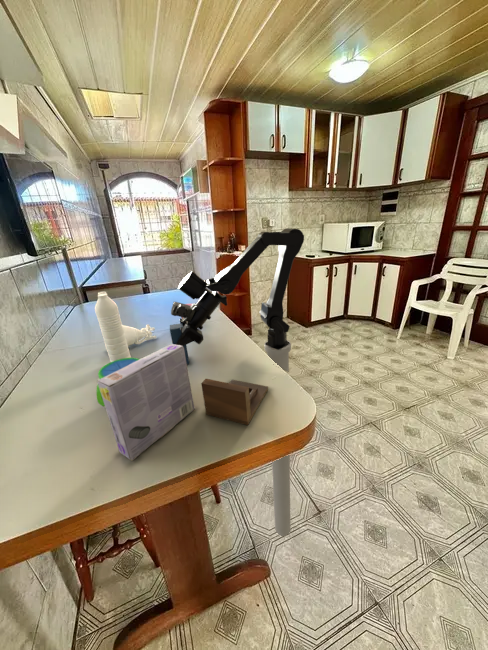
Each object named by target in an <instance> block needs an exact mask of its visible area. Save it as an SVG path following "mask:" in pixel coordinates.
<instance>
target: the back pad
mask: <svg viewBox="0 0 488 650" xmlns="http://www.w3.org/2000/svg"><path fill="white" fill-rule="evenodd" d="M181 327H182V328H183V323H180V322H179V323H174V324H170V325H169V332H170V337H171V344H176V342H177V341H178V339H179V337H180V335H181ZM183 347H184V351H185V357H186V363H187V365H190V359H189V353H188V352H189V351H188V346H187V344H186V345H184V346H183Z"/></svg>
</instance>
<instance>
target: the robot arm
mask: <svg viewBox="0 0 488 650" xmlns="http://www.w3.org/2000/svg"><path fill="white" fill-rule="evenodd" d="M304 241H305V235H304V232H303V231H302V230H300V229H298V228H289V227H288V228H287V227H286V228H284V229H282V230H281V231H261V232H259V233H258V235H257V236H256V237H255V238H254V239H253V241H252V242H251V243H250V244H249V245H248V246H247V247H246V248H245V249H244V250H243V252H241V254H240V255H238V257H237V258H236V259H235V261H234V262H233V263H232V264H230V265H228V266H227V267H225V268H223V269H222V270H220V272H218V273H217V274H216V275H215V276H214V277H211V278H207V279H203V278H202V277H200V276H199V275H198V274H197V273H196V272H195V271H193V270H190V272H189V273H188V274H187V275H186V276H185V277H183V278H182V280H181V281H180V283H179V284H178V287H177V290H179V291H181V292H182V293H183V294H184V295H186V296H188V297H189V298H190V299H192V300H198V301H197V302H195V303H192V304H193V305H192V306H189V305H186V304H187V303H182V302H178V301H173V303H172V306H171V309H170V315H171V316H173V317H180V318H179V324H180V323H183V328H182V327H181V335H180V337H179V339H178V341H177V342H176V344H175V345H181V346H184V345H186V346H187V345H188V344H189V345H190V344H191V343H193V342H194V343H196V344H197V345H200V344H201V343H202V342H203V341H204V334H203V331H202V330H203V328H204V326H203V325H204V324H205V323H206V322H207V321H208V320H209V321H210V320H211V319H212V314H213V313H214V312H215V311H216V310H217V308H218V306H219V305H220V304H222V305H224V306H228V300H227V299H228V297H227V295H230V294H231V293H233V292H234V291H235V289H236V287H237V286H238V284H239V282H240V280H241V279H242V276H243V274H244V273H245V272H246V271H247V270H248V269H249V268H250V267H251V265H253V263H254V262H255V261H256V260H257V259H258V258H259V257H260V256H261V255H262V254H263V253H264V252H265V250H267V248H268V247H269V246H277V248H278V260H277V264H276V269H275V272H274V277H273V280H272V285H271V288H270V293H269V296H268V299H267V301H265V302H263V301H262V302H261V306H260V307H261V308H260V310H259V314H260V320H261V321H262V322H263V323H264V324H265V325H266V326H267V327H268V329H267V341H268V342H266V341H265V342H266V343H265V342H264V344H265V345H268V346H270V347H272V348H275V349H277V350H279V349H281V348H283V347H285V346H287V345H289V344H290V343H291V341H290V342H288V341H289V340H288V339H287V336H288V335H287V333H288V332H289V330H290V325H289V324H288V323H287V322H286V321H285V320H284V304H283V301H284V298H285V294H286V290H287V286H288V283H289V278H290V275H291V271H292V267H293V263H294V260H295V258H296V257H297V256H298V255H299V253H300V251H301V249H302V247H303V244H304ZM181 317H183V319H182V318H181ZM287 340H288V341H287ZM265 345H264V346H265Z"/></svg>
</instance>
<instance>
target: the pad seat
mask: <svg viewBox="0 0 488 650" xmlns="http://www.w3.org/2000/svg"><path fill="white" fill-rule="evenodd" d="M200 384H201V391H202V397H203V404H204V410H205V414H206V415H207V416H211V417H215V418H218V419H222V420H225V421H230V422H234V423H237V424H240V425H245V426H249V425H250V423H251V421H252V419H253V417H254V416H255V414H256V412H257V410H258V408H259V407H260V405H261V403H262V401H263V400H264V398H265V396H266V395H267V393H268V391H269V386H267V385H262V384H257V383H251V382H247V381H242V380H237V379H231V380H230V381H229V382H224V381H220V380H215V379H209V378H205V379H204V380H203V381H201V383H200Z"/></svg>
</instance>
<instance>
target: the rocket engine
mask: <svg viewBox="0 0 488 650" xmlns="http://www.w3.org/2000/svg"><path fill="white" fill-rule="evenodd" d="M122 326H123V329H124V334H125V337H126V340H127V345H128V347H130V346H132V345H141V344H143V343H144V342H145V341H151V340H155V339H157V335H153V331H155V330H156V328H155V327H154V326H153V327H151V326H150V324H146V325H145V327H142V328H140V329H139V328H136V327H133V326H128V325H124V324H122ZM104 346H105V345H104ZM105 350H106V351H107V349H106V346H105Z"/></svg>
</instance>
